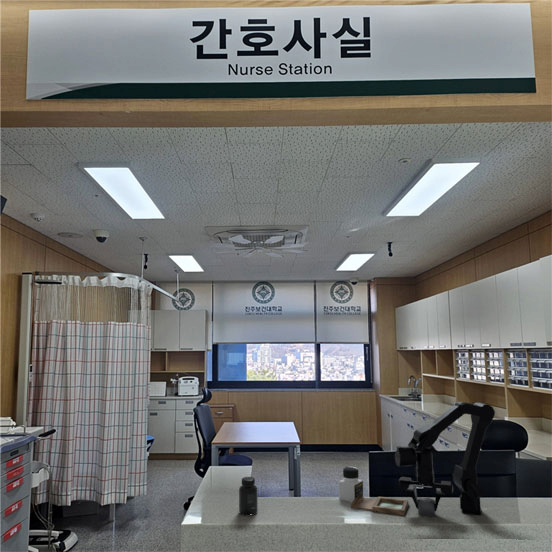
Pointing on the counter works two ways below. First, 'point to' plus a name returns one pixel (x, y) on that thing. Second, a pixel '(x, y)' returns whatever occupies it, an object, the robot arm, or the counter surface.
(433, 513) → the cap
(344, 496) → the medicine bottle
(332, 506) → the counter surface
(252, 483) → the supplement bottle
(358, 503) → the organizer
